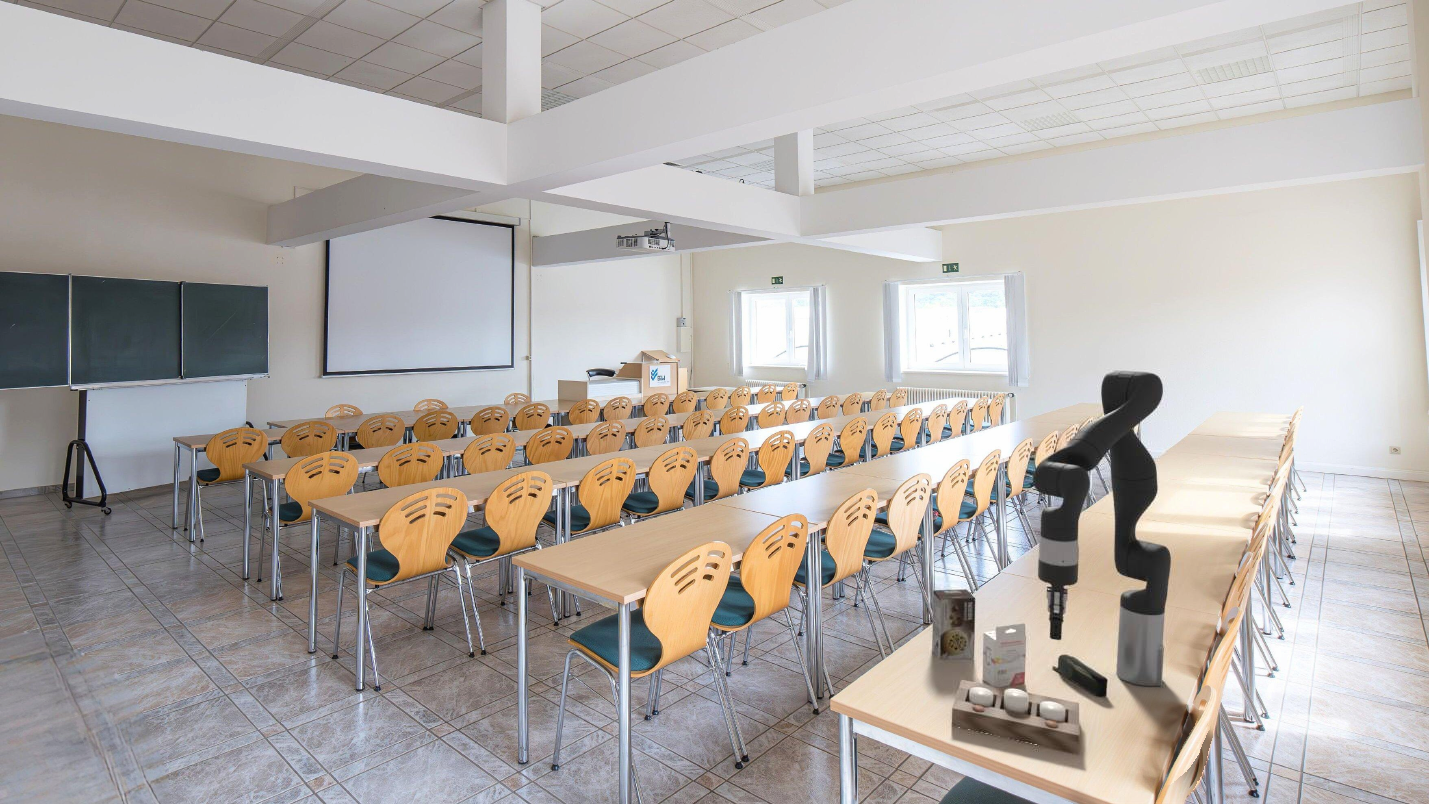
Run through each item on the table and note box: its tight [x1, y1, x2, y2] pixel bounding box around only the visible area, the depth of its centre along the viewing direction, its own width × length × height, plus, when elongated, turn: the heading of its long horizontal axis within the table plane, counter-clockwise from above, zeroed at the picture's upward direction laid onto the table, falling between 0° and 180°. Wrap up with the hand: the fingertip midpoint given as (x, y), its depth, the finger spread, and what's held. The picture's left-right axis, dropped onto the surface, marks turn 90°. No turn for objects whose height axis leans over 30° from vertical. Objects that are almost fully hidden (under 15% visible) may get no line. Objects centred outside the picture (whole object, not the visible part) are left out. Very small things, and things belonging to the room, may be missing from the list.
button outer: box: [969, 687, 993, 707], centre depth 159 cm, size 5×5×4 cm
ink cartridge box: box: [982, 622, 1027, 688], centre depth 174 cm, size 9×5×15 cm, turn 105°
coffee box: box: [931, 588, 976, 660], centre depth 189 cm, size 9×6×16 cm
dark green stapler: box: [1051, 654, 1108, 698], centre depth 174 cm, size 5×3×15 cm
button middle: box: [1004, 688, 1029, 715], centre depth 156 cm, size 5×5×4 cm
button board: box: [951, 679, 1080, 756], centre depth 156 cm, size 24×14×4 cm, turn 64°
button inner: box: [1040, 701, 1065, 722], centre depth 153 cm, size 5×5×4 cm
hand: (1055, 638), depth 154 cm, fingers closed
